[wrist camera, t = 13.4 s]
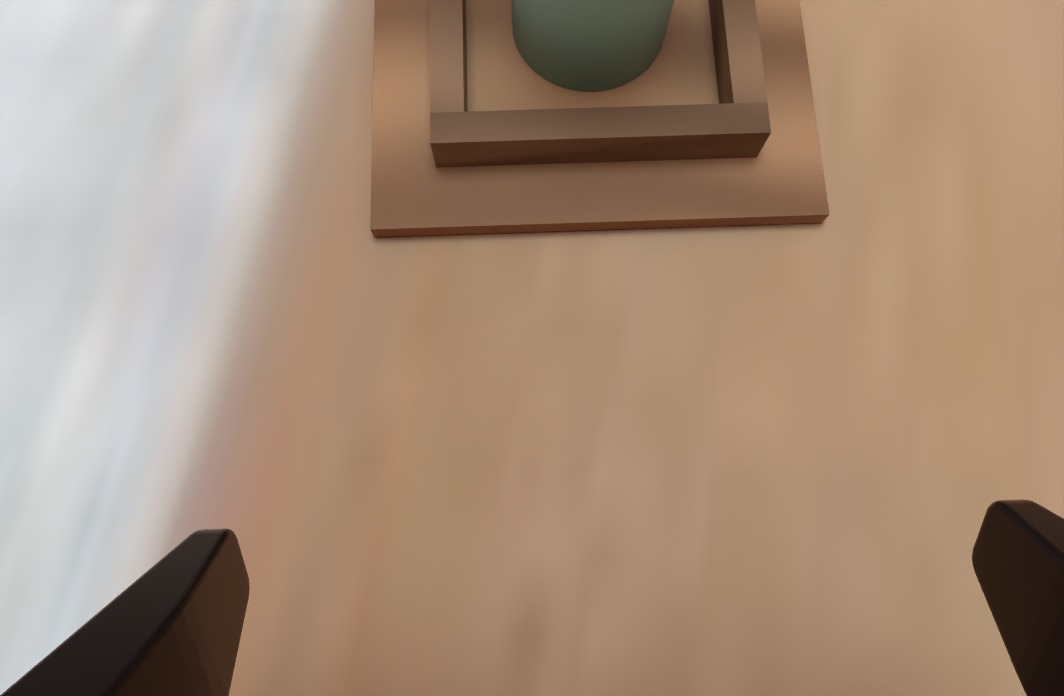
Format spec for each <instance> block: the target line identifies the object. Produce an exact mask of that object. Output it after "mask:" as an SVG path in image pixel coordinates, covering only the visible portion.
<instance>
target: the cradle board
mask: <svg viewBox="0 0 1064 696" xmlns="http://www.w3.org/2000/svg"><path fill="white" fill-rule="evenodd" d="M828 215H829V209H828V202H827V195H826V188H825V181H824V174H823V166H822V159H821V152H820V145H819V138H818V131H817V124H816V116H815V109H814V102H813V95H812V88H811V81H810V74H809V66H808V59H807V52H806V45H805V38H804V31H803V24H802V16H801V9H800V2H799V0H674V3H673V7H672V10H671V14H670V18H669V22H668V25H667V29H666V33H665V36H664V40H663V43H662V46H661V49H660V51H659V53H658V55H657V57H656V59H655V60H654V62H653V63H652V64H651V65H650V67H649V68H648V69H647V70H646V71H645V72H644V73H642V74H641V75H640V76H639V77H637V78H636V79H634V80H632V81H631V82H629V83H627V84H624V85H622V86H620V87H617V88H613V89H609V90H604V91H594V92H587V91H577V90H571V89H567V88H564V87H561V86H558V85H556V84H553V83H551V82H549V81H548V80H546V79H544V78H543V77H541V76H540V75H539V74H537V73H536V72H535V71H534V70H533V69H532V68H531V67H530V66H529V65H528V64H527V63H526V62H525V60H524V59H523V58H522V56H521V54H520V52H519V51H518V48H517V46H516V43H515V40H514V36H513V30H512V4H511V0H375V24H374V77H373V131H372V185H371V231H372V233H373V235H374V237H392V236H423V235H454V234H485V233H516V232H547V231H578V230H609V229H640V228H671V227H702V226H732V225H763V224H794V223H822V222H823V221H824V220H825V219H826V218H827V217H828Z"/></svg>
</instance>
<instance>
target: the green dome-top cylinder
mask: <svg viewBox="0 0 1064 696" xmlns="http://www.w3.org/2000/svg"><path fill="white" fill-rule="evenodd" d="M673 3H674V0H511V4H512V30H513V36H514V40H515V43H516V46H517V48H518V51H519V52H520V54H521V56H522V58H523V59H524V60H525V62H526V63H527V64H528V65H529V66H530V67H531V68H532V69H533V70H534V71H535V72H536V73H537V74H539V75H540V76H541V77H543V78H544V79H546V80H548V81H549V82H551V83H553V84H556V85H558V86H561V87H564V88H567V89H571V90H577V91H587V92H594V91H604V90H609V89H613V88H617V87H620V86H622V85H624V84H627V83H629V82H631V81H632V80H634V79H636V78H637V77H639V76H640V75H641V74H642V73H644V72H645V71H646V70H647V69H648V68H649V67H650V65H651V64H652V63H653V62H654V60H655V59H656V57H657V55H658V53H659V51H660V49H661V46H662V43H663V40H664V36H665V33H666V29H667V25H668V22H669V18H670V14H671V10H672V7H673Z"/></svg>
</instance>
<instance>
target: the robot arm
mask: <svg viewBox="0 0 1064 696" xmlns="http://www.w3.org/2000/svg"><path fill="white" fill-rule="evenodd" d="M972 561H973V567H974V571H975V574H976V576H977V578H978V581H979V583H980V586H981V588H982V591H983V593H984V595H985V598H986V600H987V603H988V605H989V608H990V610H991V612H992V615H993V617H994V620H995V622H996V625H997V627H998V629H999V632H1000V634H1001V637H1002V639H1003V642H1004V644H1005V646H1006V649H1007V651H1008V654H1009V656H1010V659H1011V661H1012V663H1013V666H1014V668H1015V671H1016V673H1017V675H1018V677H1019V680H1020V682H1021V684H1022V686H1023V688H1024V691H1025V693H1026V695H1027V696H1064V519H1063V518H1062V517H1060V516H1058V515H1056V514H1054V513H1053V512H1051V511H1049V510H1047V509H1046V508H1044V507H1042V506H1040V505H1039V504H1037V503H1035V502H1033V501H1029V500H1001V501H996V502H993V503H992V504H991V505H990V506H989V507H988V509H987V512H986V514H985V517H984V520H983V523H982V526H981V528H980V531H979V534H978V537H977V540H976V542H975V545H974V548H973V554H972ZM248 598H249V578H248V574H247V570H246V567H245V564H244V560H243V557H242V553H241V550H240V547H239V543H238V540H237V537H236V535H235V533H234V532H233V531H232V530H229V529H203V530H198V531H196V532H194V533H192V534H191V535H190V536H188V537H187V538H186V539H185V540H184V541H183V542H181V543H180V544H179V545H178V546H177V547H175V548H174V549H173V550H172V551H171V552H169V553H168V554H167V555H166V556H165V557H164V558H162V559H161V560H160V561H159V562H158V563H156V564H155V565H154V566H153V567H152V568H151V569H149V570H148V571H147V572H146V573H145V574H143V575H142V576H141V577H140V578H139V579H138V580H136V581H135V582H134V583H133V584H132V585H130V586H129V587H128V588H127V589H126V590H125V591H123V592H122V593H121V594H120V595H119V596H117V597H116V598H115V599H114V600H113V601H111V602H110V603H109V604H108V605H107V606H106V607H104V608H103V609H102V610H101V611H100V612H98V613H97V614H96V615H95V616H94V617H93V618H91V619H90V620H89V621H88V622H87V623H85V624H84V625H83V626H82V627H81V628H80V629H78V630H77V631H76V632H75V633H74V634H72V635H71V636H70V637H69V638H68V639H66V640H65V641H64V642H63V643H62V644H61V645H59V646H58V647H57V648H56V649H55V650H53V651H52V652H51V653H50V654H49V655H48V656H46V657H45V658H44V659H43V660H42V661H40V662H39V663H38V664H37V665H36V666H35V667H33V668H32V669H31V670H30V671H29V672H27V673H26V674H25V675H24V676H23V677H21V678H20V679H19V680H18V681H17V682H16V683H14V684H13V685H12V686H11V687H10V688H8V689H7V690H6V691H5V692H4V693H3V694H1V695H0V696H229V691H230V686H231V681H232V676H233V671H234V666H235V661H236V657H237V652H238V647H239V642H240V637H241V632H242V627H243V622H244V618H245V613H246V608H247V603H248Z"/></svg>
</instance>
